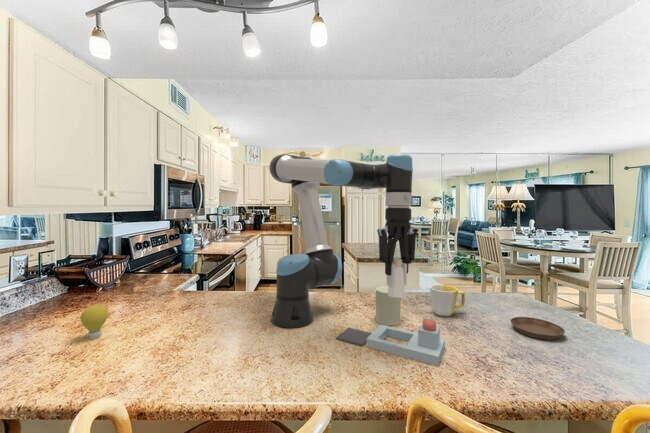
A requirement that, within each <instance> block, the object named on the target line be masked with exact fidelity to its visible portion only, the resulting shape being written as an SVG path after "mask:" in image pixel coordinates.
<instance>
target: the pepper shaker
mask: <svg viewBox="0 0 650 433" xmlns="http://www.w3.org/2000/svg"><path fill="white" fill-rule="evenodd" d="M401 262H402V259H401V258H397V257H396V258H393V263H392V264H394V265H395V278H394V287H391V286H388V285H387V286H388V296H390V297H393V298H401V299H403V298H405V297H406V289H405V286H404V274H403V267H401V264H402V263H401Z"/></svg>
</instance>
